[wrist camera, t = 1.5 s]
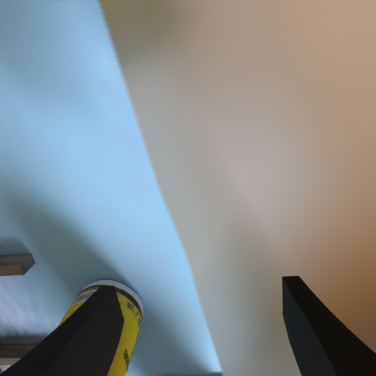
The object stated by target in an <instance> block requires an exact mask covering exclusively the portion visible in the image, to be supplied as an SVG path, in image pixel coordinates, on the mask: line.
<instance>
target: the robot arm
mask: <svg viewBox="0 0 376 376" xmlns="http://www.w3.org/2000/svg"><path fill="white" fill-rule="evenodd" d="M282 290H283V317H284V322H285V326H286V330H287V334H288V338H289V341H290V344H291V347H292V350H293V353H294V356H295V359H296V361H297V364H298V367H299V370H300V372H301V375H302V376H376V353H375V352H374V351H372V350H371V349H370V348H369V347H368V346H367V345H365V344H364V343H363V342H362V341H361V340H360V339H359V338H358V337H356V335H354V334H353V333H352V332H351V331H350V330H349V329H348V328H347V327H346V326H345V325H344V324H343V323H342V322H341V321H340V320H339V319H338V318H337V317H336V316H335V315H334V314H333V313H332V312H331V311H330V310H329V309H328V308H327V307H326V306H325V305H324V304H323V303H322V302H321V301H320V300H319V299H318V297H316V295H315V294H314V293H313V292H312V291H311V290H310V289H309V287H308V286H307V285H306V284H305V283H304V282H303V280H302V279H301V278H300V277H299V276H287V277H282ZM124 321H125V320H124V316H123V313H122V310H121V306H120V303H119V300H118V296H117V293H116V290H115V286H114V285H111V286H101V287H100V288H99V289H97V290H96V291H95V292H94V293H93V294H92V295H91V296H90V297H89V298H88V299H87V300H86V301H85V302H84V303H83V304H82V305H81V306H80V307H79V308H78V309H77V310H76V311H74V312H73V313H72V314H71V315H70V316H69V317H68V318H67V319H66V320H65V321H64V322H63V323H62V324H61V325H60V326H59V327H57V328H56V329H55V330H54V331H53V332H52V333H51V334H50V335H48V336H47V337H46V338H45V339H44V340H43V341H42V342H40V343H39V344H38V345H37V346H36V347H35V348H33V349H32V350H31V351H30V352H29V353H27V354H26V355H25V356H24V357H22V358H21V359H20V360H18V361H17V362H16V363H14V364H13V365H12V366H11V367H9V368H8V369H7V370H5V371H4V372H2V373H1V374H0V376H107V375H108V372H109V370H110V367H111V364H112V362H113V359H114V356H115V353H116V351H117V348H118V345H119V341H120V338H121V334H122V329H123V325H124Z"/></svg>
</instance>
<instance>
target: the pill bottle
mask: <svg viewBox="0 0 376 376" xmlns="http://www.w3.org/2000/svg"><path fill="white" fill-rule="evenodd" d="M111 285H114V286H115V290H116V293H117V296H118V300H119V303H120V306H121V310H122V313H123V316H124V320H125V321H124V325H123V329H122V334H121V338H120V341H119V345H118V348H117V351H116V353H115V356H114V359H113V362H112V364H111V367H110V370H109V372H108V375H107V376H125V375H126V372H127V369H128V365H129V362H130V359H131V355H132V352H133V349H134V345H135V342H136V339H137V335H138V332H139V328H140V325H141V321H142V318H143V305H142V302H141V300H140V298H139V297H138V295H137V294H136V293H135V292H134V291H133V290H132V289H130V288H129V287H127V286H126V285H124V284H122V283H119V282H117V281H112V280H99V281H95V282H92V283H90V284H88V285H87V286H85V287H84V288H83V289H82V290H81V292H80V293H79V295H78V296H77V298H76V299H75V300H74V302H73V304H72V305H71V307H70V308H69V310H68V312H67V313H66V315H65V316H64V318H63V319H62V321H61V323H60V324H59V326H60V325H61V324H62V323H63V322H64V321H65V320H66V319H67V318H68V317H69V316H70V315H71V314H72V313H73V312H74V311H76V310H77V309H78V308H79V307H80V306H81V305H82V304H83V303H84V302H85V301H86V300H87V299H88V298H89V297H90V296H91V295H92V294H93V293H94V292H95V291H96V290H97V289H99V288H100V287H101V286H111ZM59 326H58V327H59Z"/></svg>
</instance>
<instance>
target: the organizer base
mask: <svg viewBox="0 0 376 376" xmlns="http://www.w3.org/2000/svg"><path fill="white" fill-rule="evenodd" d="M33 265H34V260H33V258H32V255H31V254H21V255H7V256H0V276H9V275H24V274H25V273H26V272H27V271H28V270H29V269H30V268H31V267H32V266H33ZM37 345H38V344H15V345H0V365H13V364H14V363H16V362H17V361H18V360H20V359H21V358H22V357H24V356H25V355H26V354H27V353H29V352H30V351H31V350H32V349H33V348H35V347H36V346H37ZM1 373H2V371H1V369H0V374H1Z"/></svg>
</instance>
